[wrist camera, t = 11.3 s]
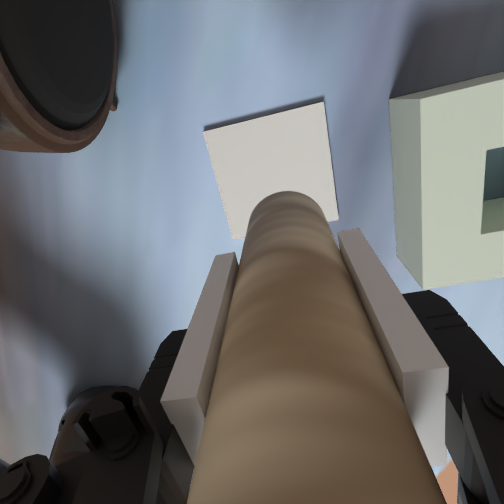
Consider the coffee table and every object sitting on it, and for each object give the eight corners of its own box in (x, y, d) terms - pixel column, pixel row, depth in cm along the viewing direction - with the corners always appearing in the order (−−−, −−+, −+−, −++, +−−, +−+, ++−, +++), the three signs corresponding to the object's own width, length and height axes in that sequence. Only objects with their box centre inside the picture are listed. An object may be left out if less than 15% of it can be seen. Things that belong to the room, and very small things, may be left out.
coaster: (233, 238, 31) (233, 240, 31) (203, 131, 27) (202, 131, 27) (337, 218, 30) (338, 219, 29) (322, 101, 25) (323, 101, 25)
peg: (257, 269, 18) (211, 701, 5) (239, 200, 16) (105, 580, 3) (331, 256, 17) (493, 714, 4) (320, 183, 15) (529, 570, 3)
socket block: (396, 256, 31) (422, 289, 25) (388, 99, 25) (420, 99, 20) (559, 228, 29) (626, 258, 23) (591, 49, 23) (689, 34, 18)
